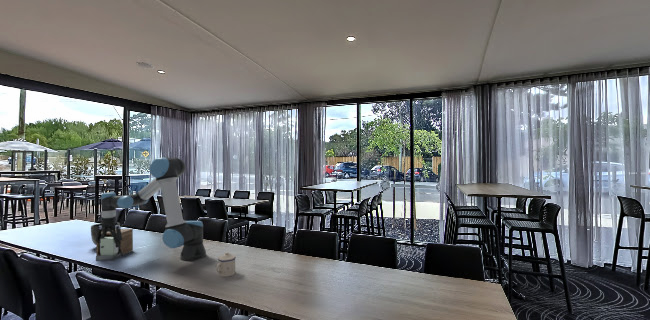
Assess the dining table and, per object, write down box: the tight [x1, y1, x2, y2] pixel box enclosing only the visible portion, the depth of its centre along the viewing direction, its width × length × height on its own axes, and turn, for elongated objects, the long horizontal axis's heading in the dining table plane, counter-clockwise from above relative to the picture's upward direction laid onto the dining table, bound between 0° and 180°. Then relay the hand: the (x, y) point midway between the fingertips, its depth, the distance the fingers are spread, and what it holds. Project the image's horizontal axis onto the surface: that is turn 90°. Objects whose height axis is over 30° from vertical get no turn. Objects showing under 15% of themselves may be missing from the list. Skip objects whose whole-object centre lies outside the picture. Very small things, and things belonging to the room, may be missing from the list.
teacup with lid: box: [215, 251, 236, 278], centre depth 161 cm, size 12×9×12 cm
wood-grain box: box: [95, 228, 134, 256], centre depth 201 cm, size 16×12×15 cm
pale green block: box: [101, 237, 118, 256], centre depth 190 cm, size 8×5×11 cm, turn 90°
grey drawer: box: [95, 241, 124, 262], centre depth 191 cm, size 11×9×12 cm
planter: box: [90, 221, 121, 246], centre depth 218 cm, size 17×17×16 cm
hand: (109, 252), depth 190 cm, fingers closed on pale green block, 8 cm apart
